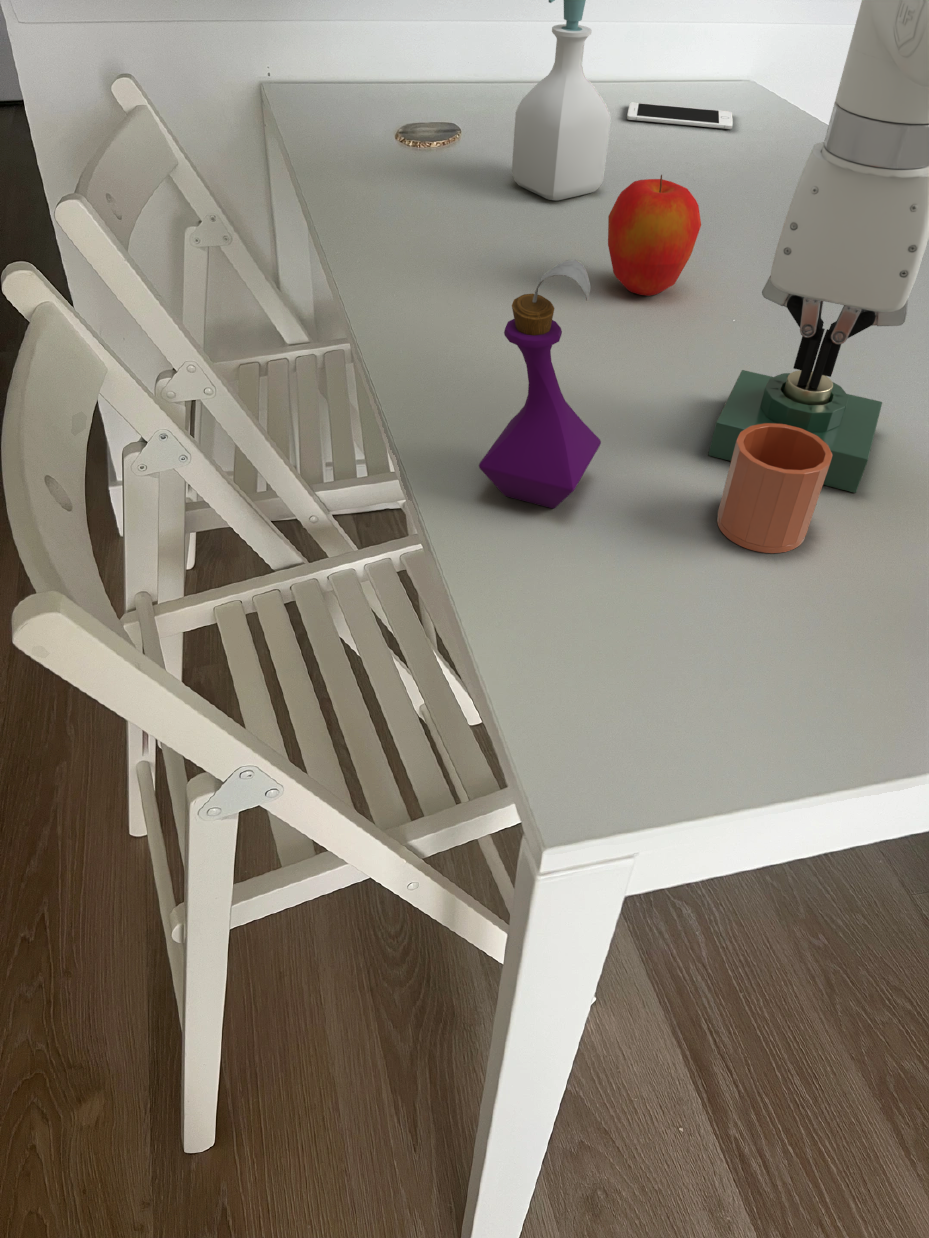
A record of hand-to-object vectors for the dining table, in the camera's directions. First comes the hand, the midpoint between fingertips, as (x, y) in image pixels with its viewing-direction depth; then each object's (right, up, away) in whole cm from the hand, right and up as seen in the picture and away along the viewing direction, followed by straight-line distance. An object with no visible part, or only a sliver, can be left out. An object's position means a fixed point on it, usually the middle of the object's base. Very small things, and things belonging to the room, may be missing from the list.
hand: (810, 379), depth 80 cm
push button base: (0, -5, +4) cm, 6 cm away
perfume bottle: (-22, -9, -2) cm, 24 cm away
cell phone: (+6, +59, +74) cm, 95 cm away
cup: (-5, -12, -5) cm, 14 cm away
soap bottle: (-16, +36, +49) cm, 63 cm away
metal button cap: (0, -2, +1) cm, 2 cm away
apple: (-9, +16, +26) cm, 32 cm away
